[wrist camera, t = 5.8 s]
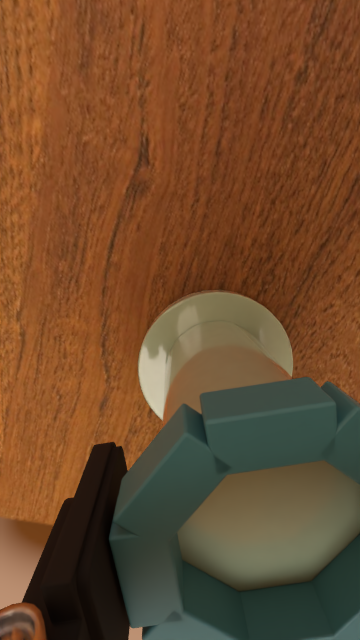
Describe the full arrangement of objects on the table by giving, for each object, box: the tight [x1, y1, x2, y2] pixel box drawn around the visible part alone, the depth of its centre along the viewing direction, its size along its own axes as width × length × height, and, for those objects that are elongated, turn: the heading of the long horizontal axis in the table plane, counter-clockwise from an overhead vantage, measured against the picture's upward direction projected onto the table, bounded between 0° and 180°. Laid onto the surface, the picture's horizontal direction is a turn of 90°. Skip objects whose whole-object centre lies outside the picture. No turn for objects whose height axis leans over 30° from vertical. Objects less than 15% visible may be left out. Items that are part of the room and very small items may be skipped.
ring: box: [109, 377, 360, 640], centre depth 7 cm, size 7×7×1 cm
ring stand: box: [138, 290, 360, 592], centre depth 13 cm, size 8×8×10 cm
